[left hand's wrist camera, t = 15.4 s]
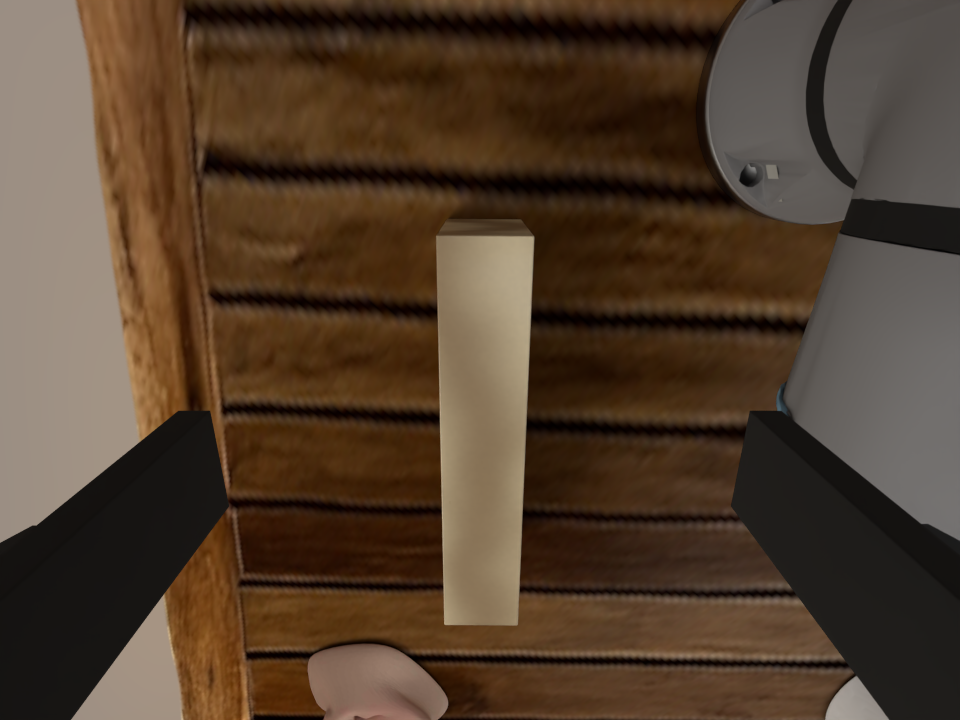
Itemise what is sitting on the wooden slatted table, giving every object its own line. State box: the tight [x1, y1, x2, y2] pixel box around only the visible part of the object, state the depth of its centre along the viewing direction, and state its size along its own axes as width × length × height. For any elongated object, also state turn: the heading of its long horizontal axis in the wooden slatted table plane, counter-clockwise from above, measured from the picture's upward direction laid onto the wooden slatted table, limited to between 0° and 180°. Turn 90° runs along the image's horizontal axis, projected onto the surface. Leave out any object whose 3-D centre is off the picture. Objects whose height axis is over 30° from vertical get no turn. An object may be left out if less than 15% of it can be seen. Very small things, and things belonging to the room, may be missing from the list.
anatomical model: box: [308, 644, 448, 720], centre depth 48 cm, size 13×4×12 cm
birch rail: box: [436, 219, 534, 625], centre depth 35 cm, size 5×26×9 cm, turn 179°
